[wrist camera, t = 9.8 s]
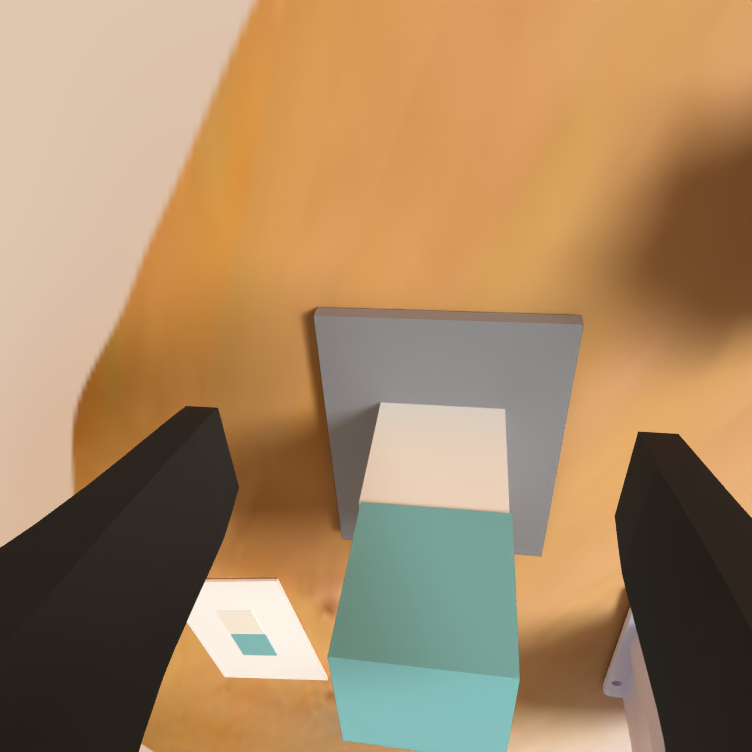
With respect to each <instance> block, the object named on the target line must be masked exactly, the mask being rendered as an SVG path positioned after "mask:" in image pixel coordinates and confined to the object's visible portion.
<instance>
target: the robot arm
mask: <svg viewBox="0 0 752 752" xmlns="http://www.w3.org/2000/svg"><path fill="white" fill-rule="evenodd" d="M238 489H239V486H238V482H237V479H236V475H235V471H234V467H233V463H232V460H231V456H230V452H229V448H228V444H227V441H226V437H225V433H224V429H223V425H222V422H221V418H220V414H219V410H218V408H210V407H193V406H186V407H184V408H183V409H182V410H180V411H179V412H178V413H176V414H175V415H174V416H173V417H171V418H170V419H169V420H168V421H166V422H165V423H164V424H163V425H161V426H160V427H159V428H158V429H157V430H155V431H154V432H153V433H152V434H150V435H149V436H148V437H147V438H146V439H144V440H143V441H142V442H141V443H140V444H138V445H137V446H136V447H135V448H133V449H132V450H131V451H130V452H129V453H127V454H126V455H125V456H124V457H122V458H121V459H120V460H119V461H117V462H116V463H115V464H114V465H112V466H111V467H110V468H109V469H107V470H106V471H105V472H104V473H102V474H101V475H100V476H99V477H97V478H96V479H95V480H94V481H92V482H91V483H90V484H89V485H87V486H86V487H85V488H83V489H82V490H81V491H79V492H78V493H76V494H75V495H74V496H72V497H71V498H70V499H68V500H67V501H66V502H64V503H63V504H62V505H60V506H59V507H58V508H56V509H55V510H54V511H52V512H51V513H50V514H48V515H47V516H46V517H44V518H43V519H41V520H40V521H39V522H37V523H36V524H35V525H33V526H32V527H30V528H29V529H28V530H26V531H24V532H23V533H22V534H20V535H19V536H17V537H16V538H14V539H13V540H11V541H10V542H8V543H7V544H5V545H4V546H2V547H1V548H0V752H139V749H140V746H141V742H142V739H143V736H144V733H145V730H146V727H147V724H148V721H149V718H150V715H151V712H152V709H153V706H154V703H155V700H156V697H157V694H158V691H159V688H160V685H161V682H162V679H163V677H164V674H165V672H166V669H167V667H168V664H169V662H170V659H171V657H172V654H173V652H174V649H175V647H176V645H177V643H178V640H179V638H180V636H181V634H182V631H183V629H184V627H185V625H186V623H187V620H188V618H189V616H190V614H191V611H192V609H193V607H194V605H195V602H196V600H197V598H198V596H199V594H200V591H201V589H202V587H203V585H204V582H205V580H206V578H207V576H208V573H209V571H210V569H211V567H212V564H213V562H214V560H215V557H216V555H217V553H218V551H219V548H220V546H221V544H222V541H223V539H224V536H225V533H226V530H227V526H228V523H229V520H230V517H231V513H232V510H233V506H234V503H235V499H236V496H237V492H238ZM615 522H616V531H617V539H618V548H619V555H620V562H621V569H622V575H623V579H624V583H625V587H626V591H627V595H628V599H629V603H630V608H629V611H628V614H627V617H626V620H625V623H624V626H623V628H622V631H621V634H620V637H619V640H618V643H617V646H616V648H615V651H614V654H613V657H612V660H611V663H610V666H609V669H608V671H607V674H606V677H605V680H604V683H603V692H604V694H605V695H607V696H610V697H617V698H623V701H624V707H625V712H626V718H627V724H628V729H629V735H630V740H631V746H632V751H633V752H752V518H751V517H750V516H749V515H748V513H747V512H746V511H745V510H744V509H743V508H742V507H741V506H740V504H739V503H738V502H737V501H736V500H735V499H734V498H733V497H732V495H731V494H730V493H729V492H728V491H727V490H726V489H725V487H724V486H723V485H722V484H721V483H720V482H719V481H718V479H717V478H716V477H715V476H714V475H713V474H712V472H711V471H710V470H709V469H708V468H707V467H706V465H705V464H704V463H703V462H702V461H701V460H700V458H699V457H698V456H697V455H696V454H695V453H694V451H693V450H692V449H691V448H690V447H689V446H688V445H687V443H686V442H685V441H684V440H683V439H682V438H681V437H680V436H679V434H669V433H652V432H638V435H637V438H636V442H635V446H634V449H633V453H632V456H631V460H630V463H629V467H628V471H627V474H626V478H625V481H624V485H623V488H622V492H621V496H620V499H619V503H618V506H617V510H616V514H615Z"/></svg>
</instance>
